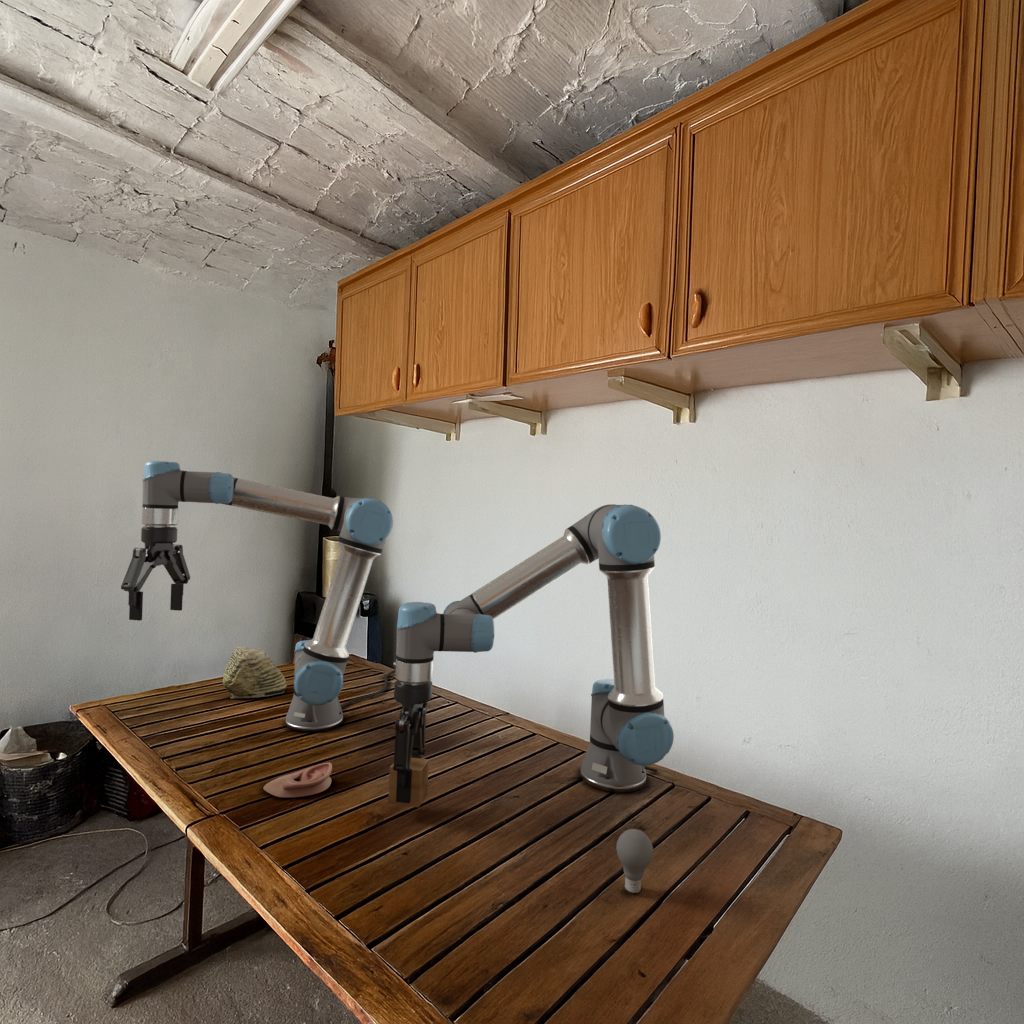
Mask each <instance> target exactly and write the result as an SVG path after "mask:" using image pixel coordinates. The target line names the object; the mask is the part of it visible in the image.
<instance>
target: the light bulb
mask: <svg viewBox="0 0 1024 1024" xmlns="http://www.w3.org/2000/svg"><path fill="white" fill-rule="evenodd" d="M615 849H616V854H617V857H618V859H619V861H620V863H621V865H622V867H623V873H624V874H623V875H624V876H625V878H624V888H625V890H627V891H628V892H630V893H634V894H635V893H639V892H640V891H641V889H642V887H641V886H642V879H643V877H644V875H645V871H646V868H647V867H648V866H649V864H650V863H651V861H652V859H653V855H654V847H653V843H652V841H651V838H649V836H648V835H647V834H646V833H645V832H643V831H642V830H641V829H636V828H629V829H627V830H625V831H623V832H622V833H621V834H620V835H619V837H618V839H617V841H616V847H615Z"/></svg>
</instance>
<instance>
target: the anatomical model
mask: <svg viewBox="0 0 1024 1024" xmlns="http://www.w3.org/2000/svg"><path fill="white" fill-rule="evenodd" d="M332 771H333V763H332V762H323V763H319V764H316V765H312V766H309V767H307V768H303V769H301V770H298V771H294V772H293V773H290V774H289V773H288V774H284V775H281V776H279V777H277V778H275V779H272V780H271V781H269V782H267V783H266V784H265V785H264V786H263V788H262V789H263V791H264V792H266V793H268V794H270V795H272V796H274V797H277V798H283V799H284V798H285V799H287V798H300V797H307V796H312V795H316V794H319V793H321V792H324V791H326V790H328V789H329V787H330V786H331V784H332V778H331V774H332Z"/></svg>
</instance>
